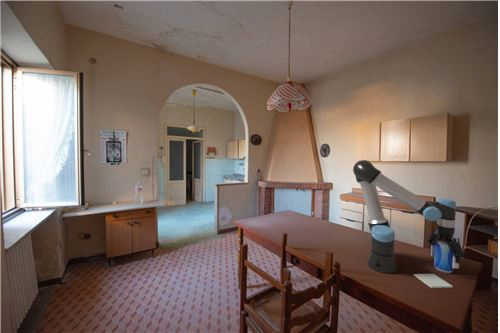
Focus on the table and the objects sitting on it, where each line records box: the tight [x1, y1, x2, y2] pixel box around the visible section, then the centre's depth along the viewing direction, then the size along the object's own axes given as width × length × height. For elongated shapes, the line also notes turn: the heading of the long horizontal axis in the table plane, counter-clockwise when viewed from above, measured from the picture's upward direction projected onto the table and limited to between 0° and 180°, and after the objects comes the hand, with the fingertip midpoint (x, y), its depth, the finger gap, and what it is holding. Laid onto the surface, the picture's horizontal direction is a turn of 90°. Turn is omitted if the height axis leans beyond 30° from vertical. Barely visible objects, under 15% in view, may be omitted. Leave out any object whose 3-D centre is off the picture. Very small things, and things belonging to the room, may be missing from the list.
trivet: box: [413, 273, 454, 289], centre depth 111 cm, size 11×11×1 cm
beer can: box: [433, 241, 455, 274], centre depth 122 cm, size 8×8×16 cm
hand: (443, 261), depth 122 cm, fingers open, 13 cm apart
